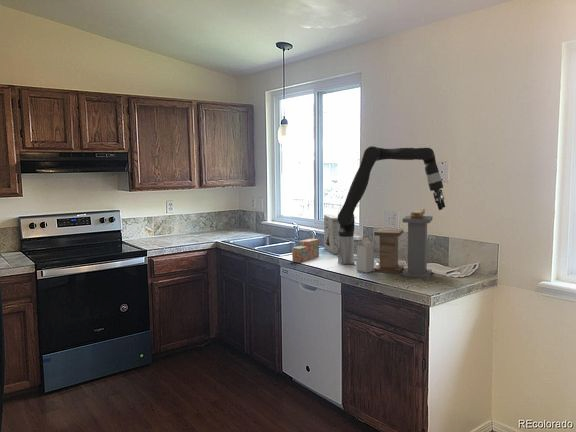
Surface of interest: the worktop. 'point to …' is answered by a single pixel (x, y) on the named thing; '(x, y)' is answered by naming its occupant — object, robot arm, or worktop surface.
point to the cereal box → (331, 233)
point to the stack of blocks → (306, 250)
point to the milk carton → (365, 256)
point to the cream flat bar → (418, 214)
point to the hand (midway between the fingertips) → (442, 208)
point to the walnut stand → (388, 250)
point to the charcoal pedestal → (417, 247)
